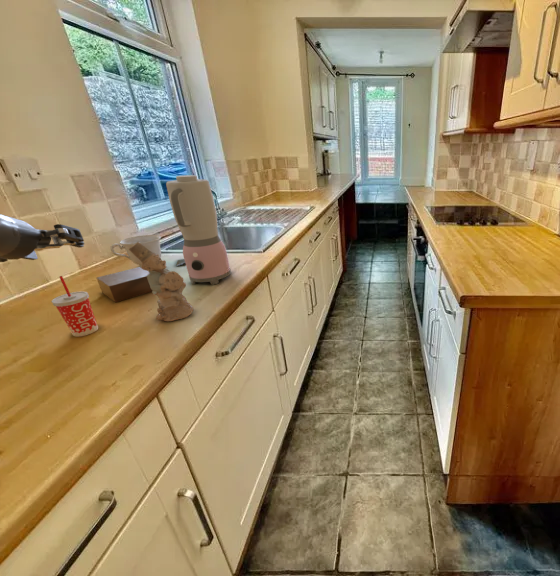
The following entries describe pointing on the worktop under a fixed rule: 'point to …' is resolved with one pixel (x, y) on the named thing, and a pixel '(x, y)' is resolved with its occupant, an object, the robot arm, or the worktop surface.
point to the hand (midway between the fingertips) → (57, 248)
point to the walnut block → (125, 284)
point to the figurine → (163, 285)
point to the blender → (198, 229)
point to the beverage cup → (76, 311)
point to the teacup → (147, 240)
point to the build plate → (181, 262)
